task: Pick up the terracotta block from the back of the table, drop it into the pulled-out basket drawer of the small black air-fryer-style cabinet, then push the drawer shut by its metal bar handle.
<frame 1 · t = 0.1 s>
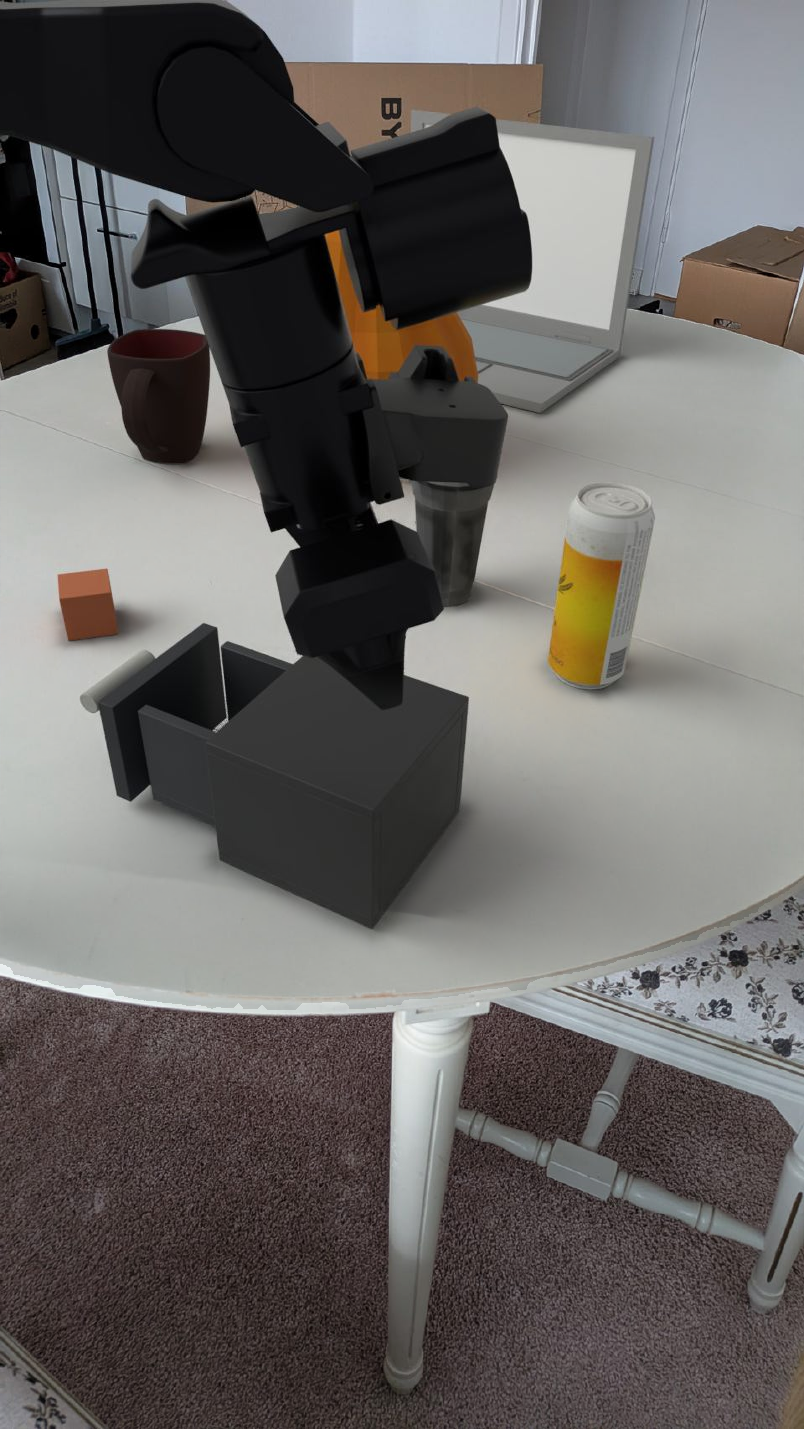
hand: (374, 652, 51), 17 cm above the table, tool pointing down, fingers open, 9 cm apart
block: (92, 624, 83), on the table
mug: (166, 462, 109), on the table
beer can: (584, 673, 80), on the table
cabinet: (343, 835, 64), on the table
beverage cup: (445, 594, 89), on the table
drawer: (195, 721, 66), point 5 cm above the table, slide at 7.5 cm
laptop: (467, 359, 139), on the table
decorative pumpkin: (368, 449, 114), on the table
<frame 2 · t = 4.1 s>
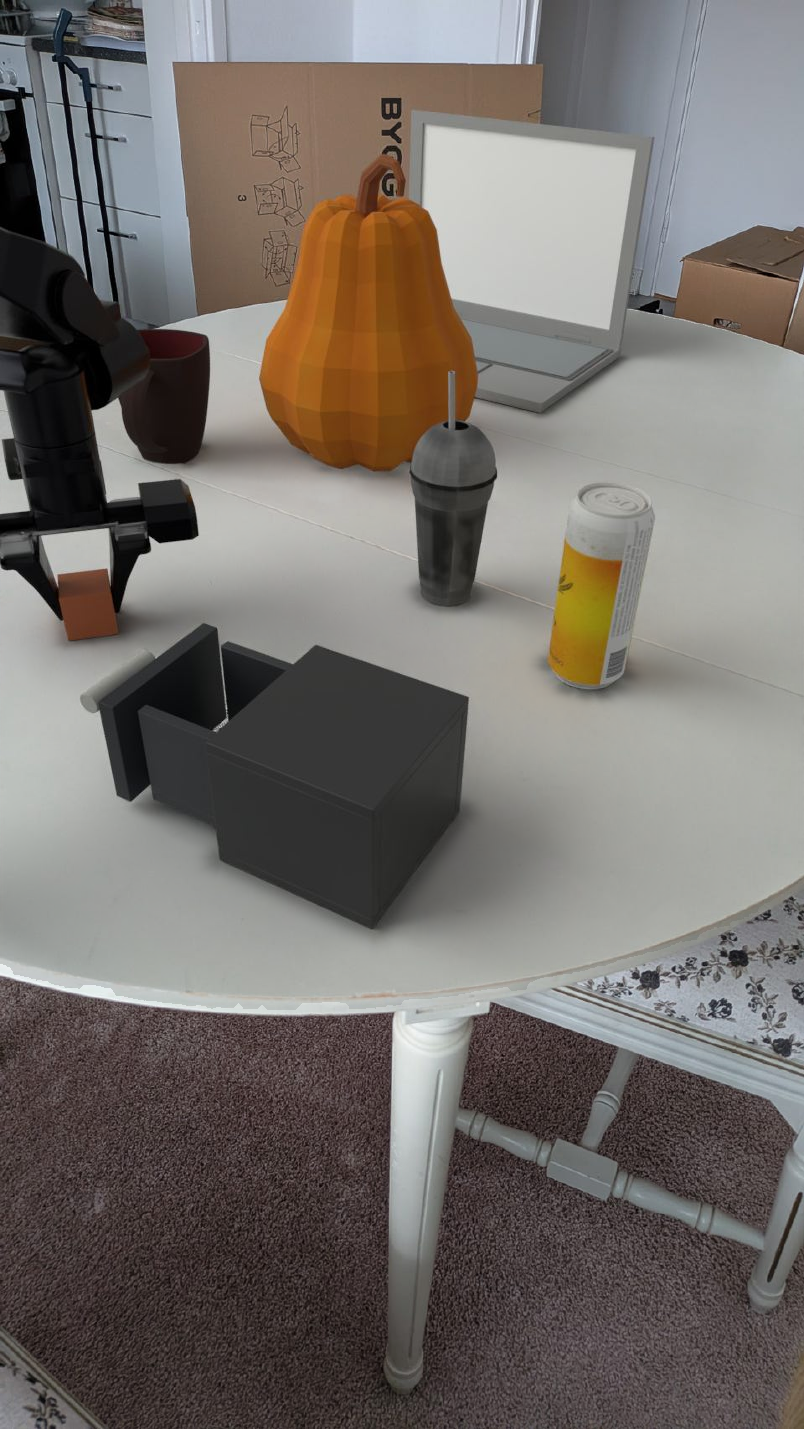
hand: (90, 614, 82), 1 cm above the table, tool pointing down, fingers closed on block, 4 cm apart
block: (91, 624, 83), on the table, touching gripper
everything else where it was.
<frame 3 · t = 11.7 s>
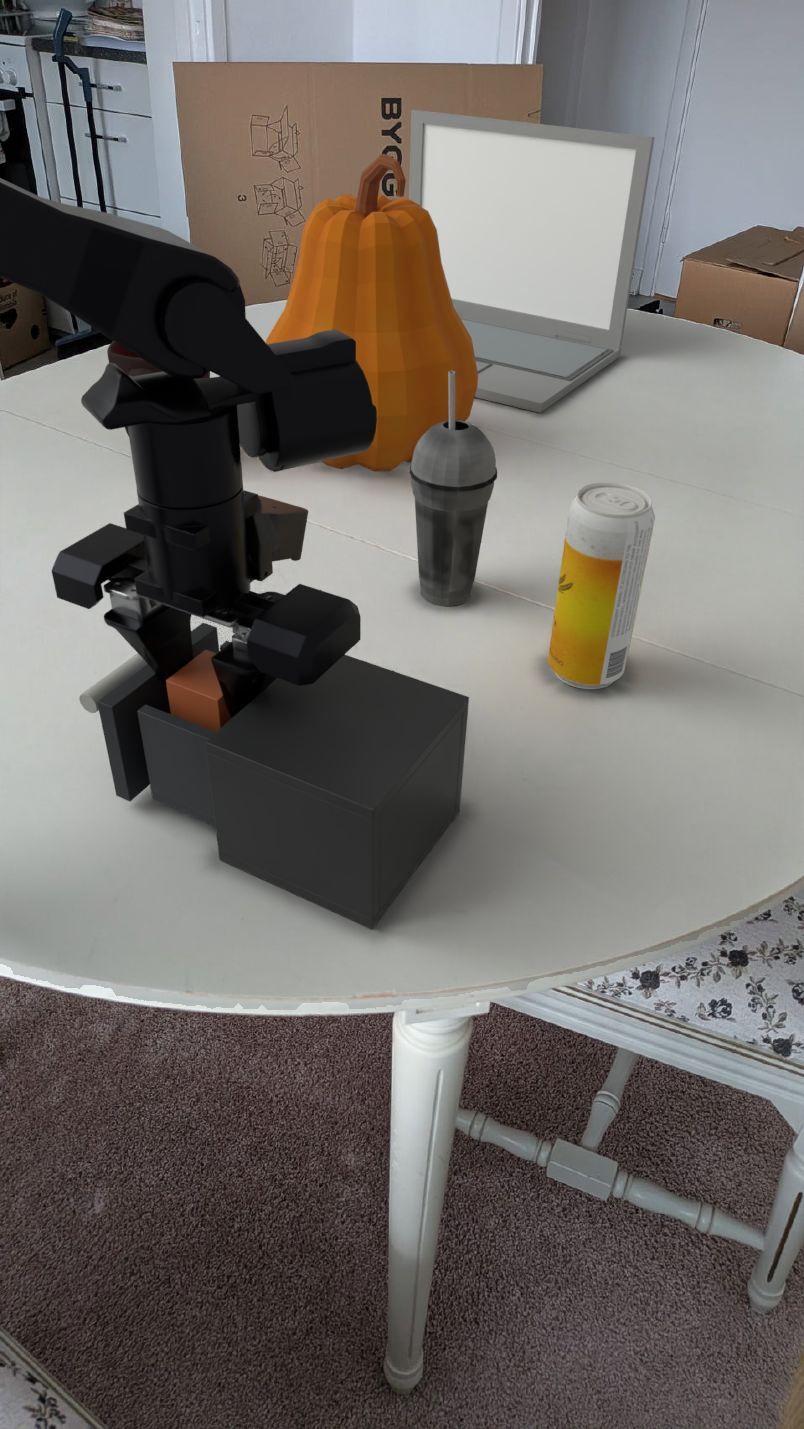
hand: (215, 712, 64), 6 cm above the table, tool pointing down, fingers closed on block, 4 cm apart
block: (217, 723, 65), point 5 cm above the table, touching gripper
everything else where it was.
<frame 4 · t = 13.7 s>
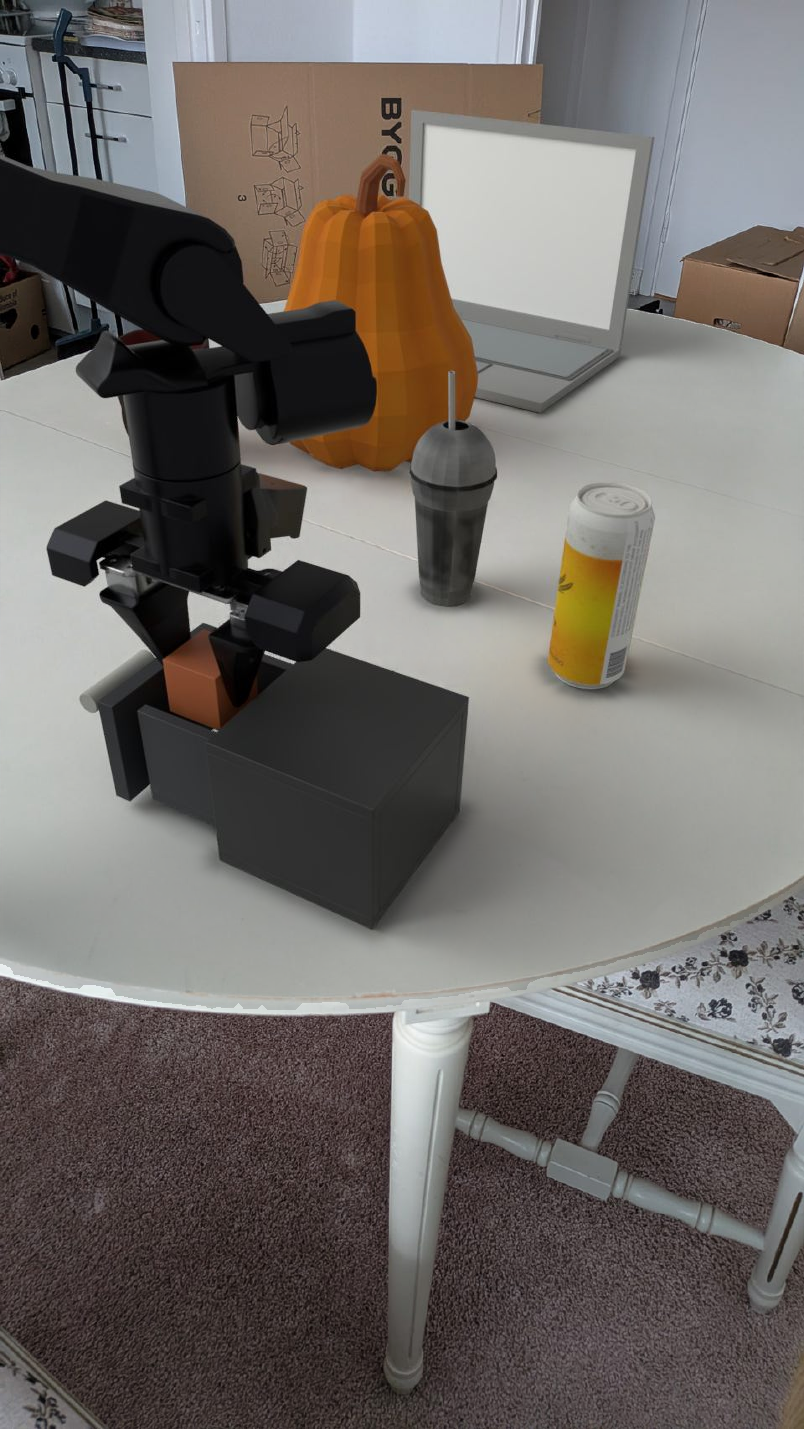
hand: (212, 692, 63), 8 cm above the table, tool pointing down, fingers closed on block, 4 cm apart
block: (214, 704, 64), point 7 cm above the table, touching gripper
everything else where it was.
when the fingers open (10 cm above the table, at t = 23.5 s): block drops 7 cm, resting on drawer.
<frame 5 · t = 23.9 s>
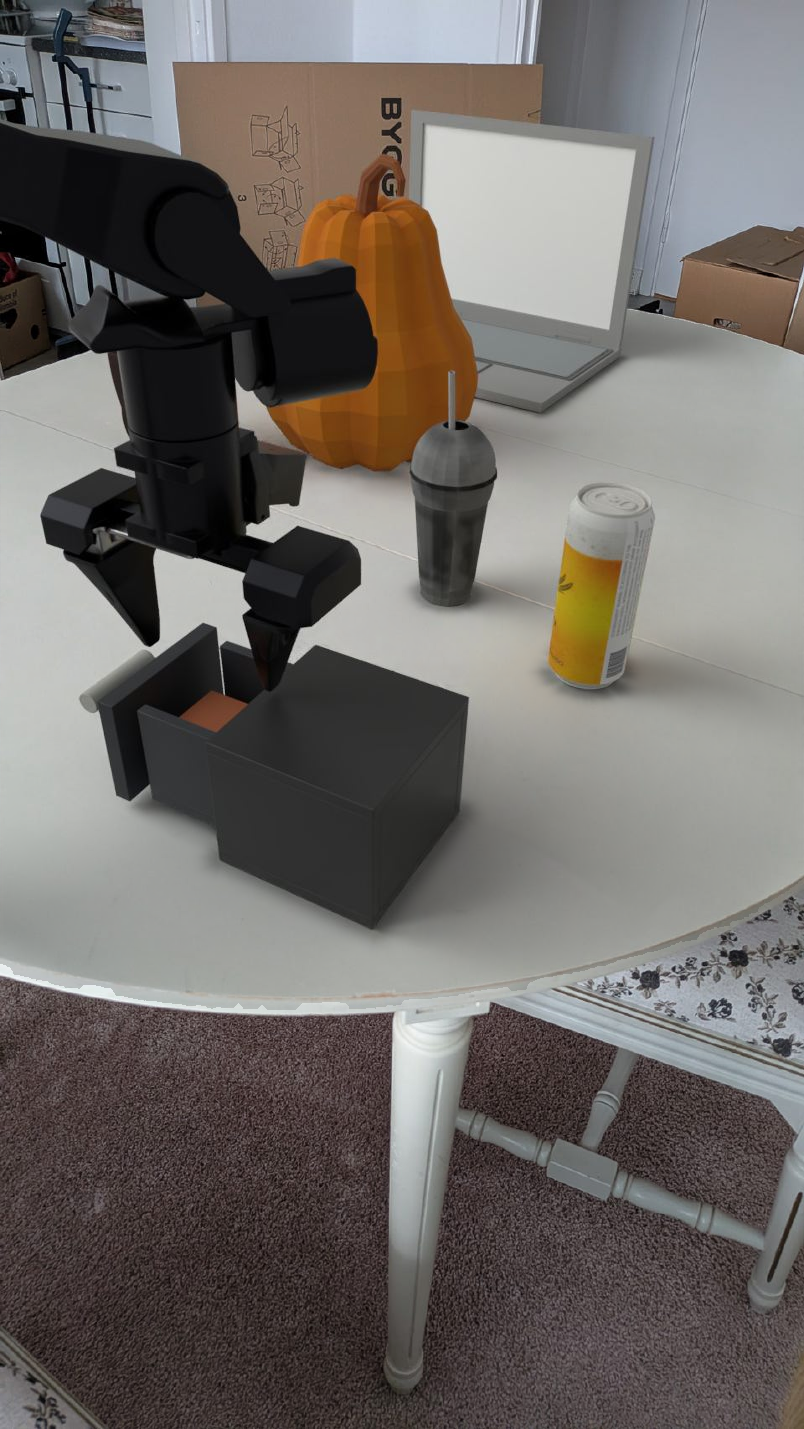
hand: (210, 664, 62), 10 cm above the table, tool pointing down, fingers open, 9 cm apart
block: (222, 762, 67), point 2 cm above the table, touching drawer
drawer: (195, 721, 66), point 5 cm above the table, slide at 7.6 cm, touching block
everything else where it was.
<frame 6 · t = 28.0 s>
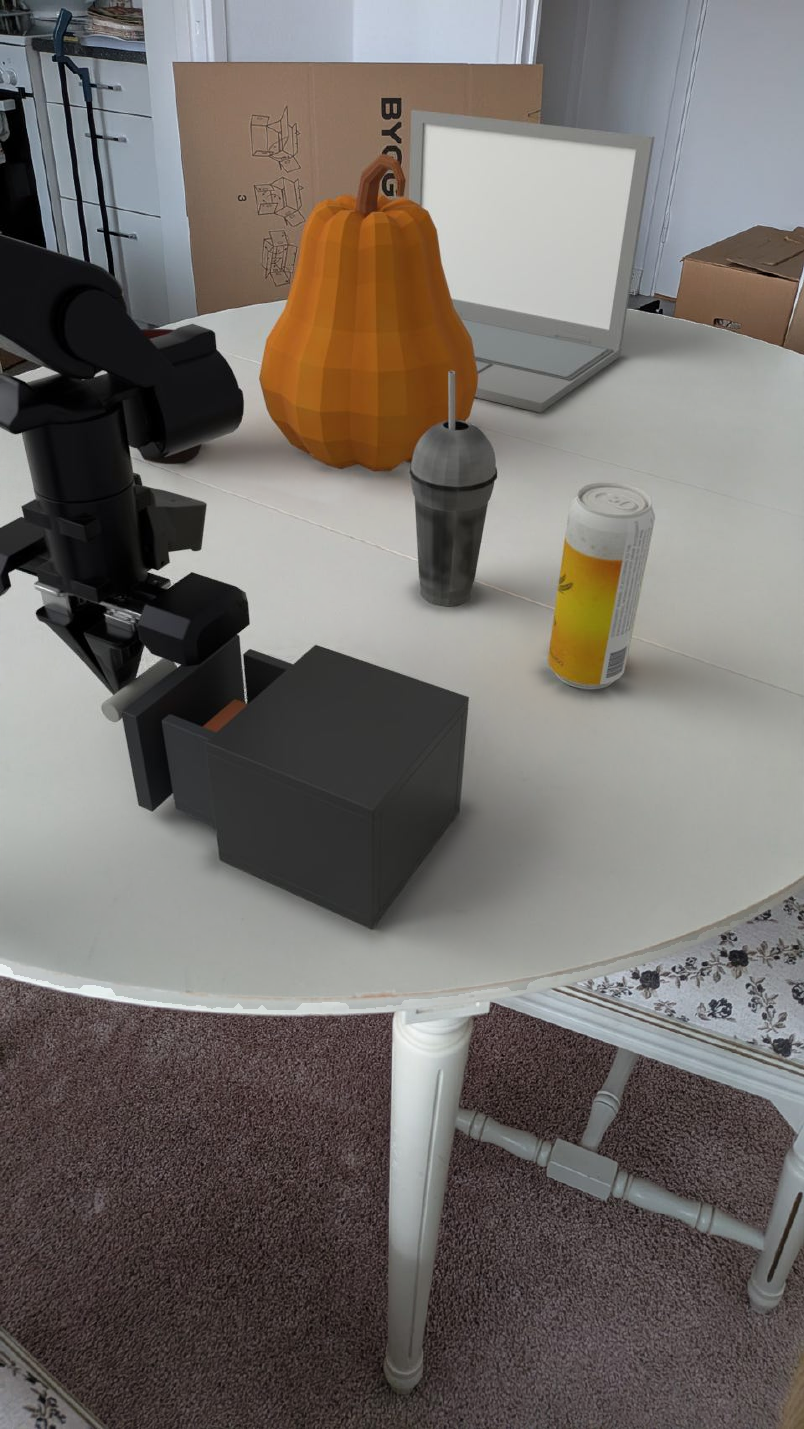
hand: (123, 694, 68), 5 cm above the table, tool pointing down, fingers closed
block: (245, 771, 66), point 2 cm above the table, touching drawer
drawer: (218, 730, 65), point 5 cm above the table, slide at 5.7 cm, touching block, gripper
everything else where it was.
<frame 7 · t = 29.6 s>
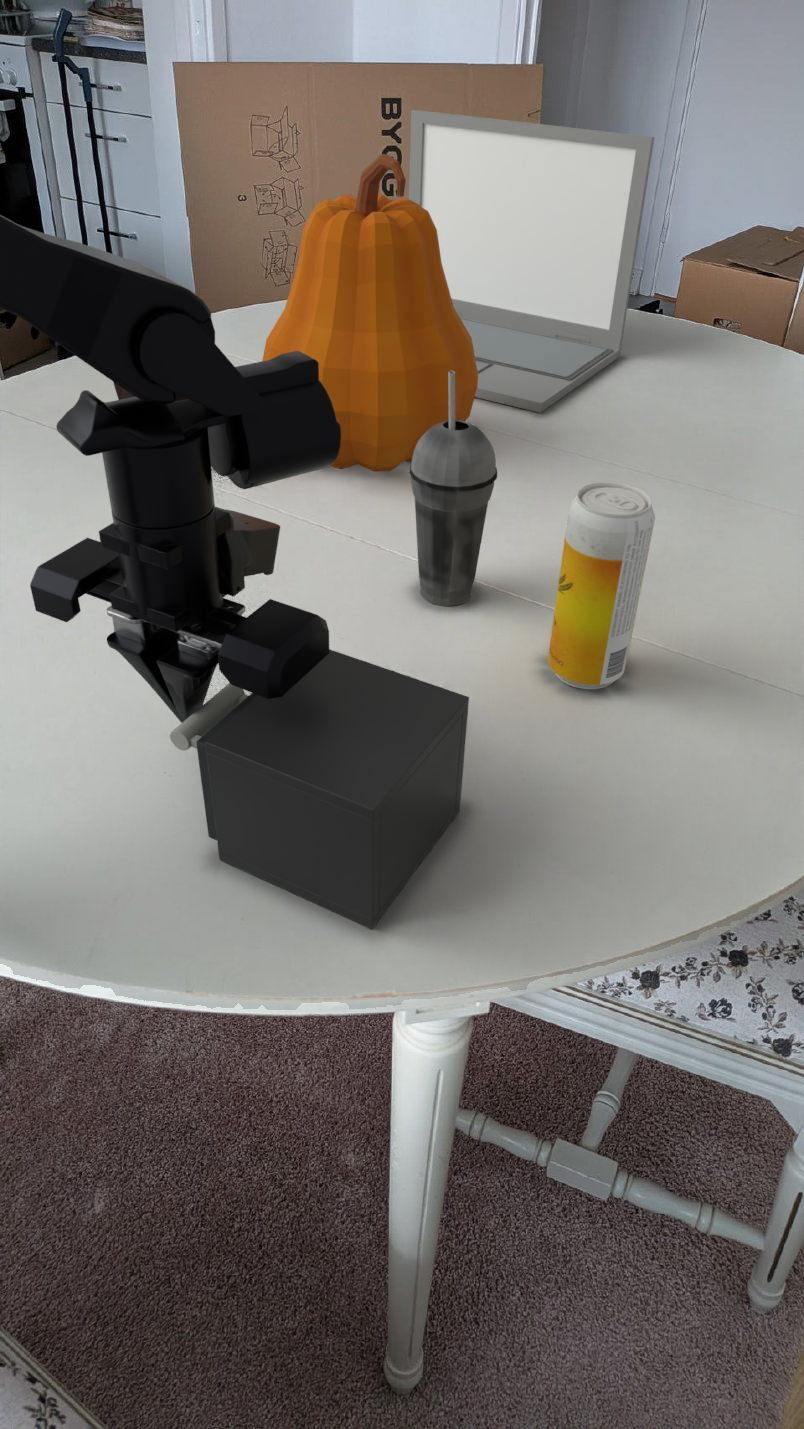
hand: (190, 721, 66), 5 cm above the table, tool pointing down, fingers closed
block: (317, 801, 64), point 2 cm above the table, touching drawer
drawer: (290, 759, 63), point 5 cm above the table, slide at 0.0 cm, touching block, cabinet, gripper
everything else where it was.
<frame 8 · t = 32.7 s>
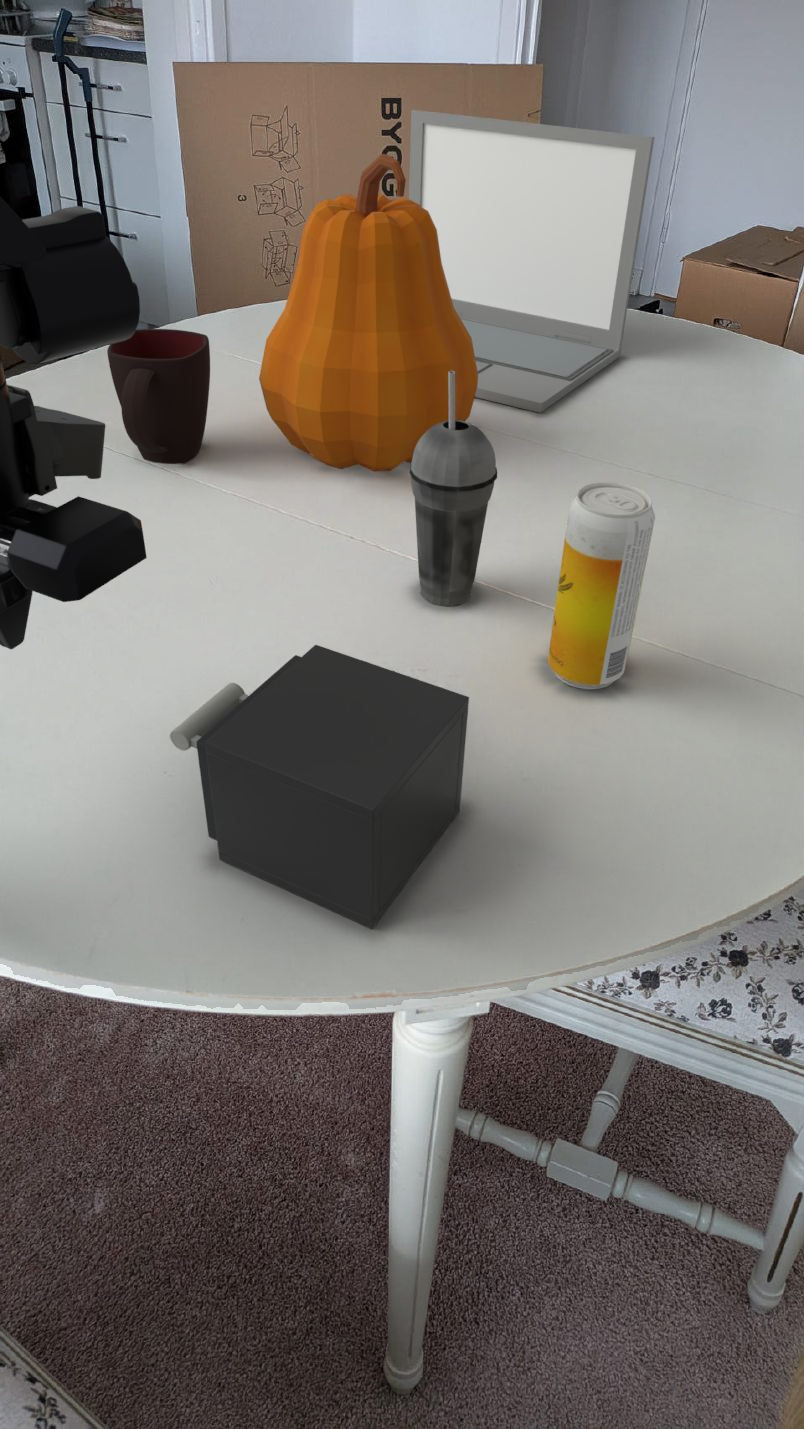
hand: (12, 644, 59), 12 cm above the table, tool pointing down, fingers closed
drawer: (290, 759, 63), point 5 cm above the table, slide at 0.0 cm, touching block, cabinet
everything else where it was.
at the end: block inside the target area in the cabinet (1.9 cm from its centre), point 2.0 cm above the cabinet's base; drawer slide at 0.0 cm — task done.
